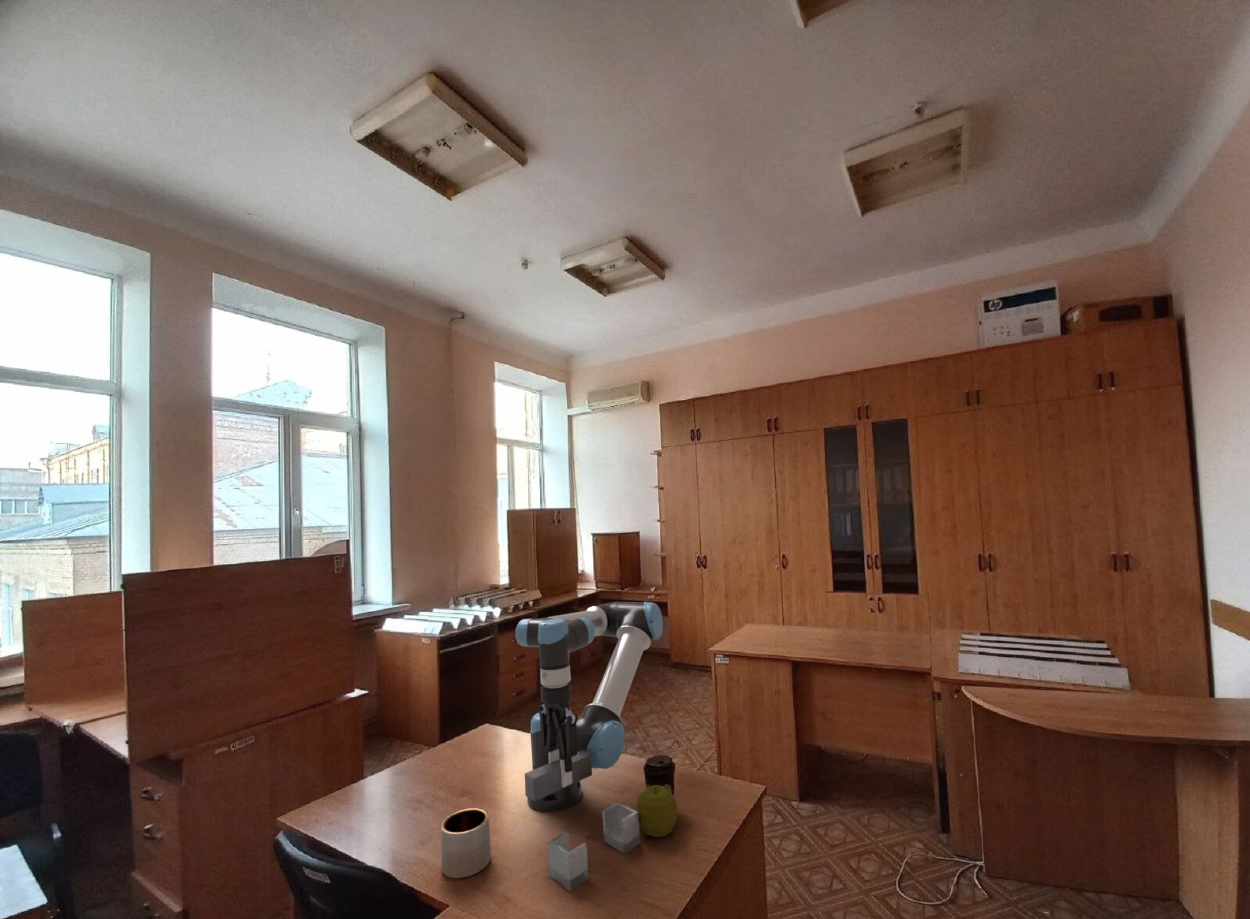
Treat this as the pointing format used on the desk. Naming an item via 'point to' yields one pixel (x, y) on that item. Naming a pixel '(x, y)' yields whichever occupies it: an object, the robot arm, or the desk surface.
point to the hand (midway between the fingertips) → (560, 781)
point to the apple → (657, 811)
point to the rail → (555, 776)
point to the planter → (465, 842)
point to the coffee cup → (660, 772)
